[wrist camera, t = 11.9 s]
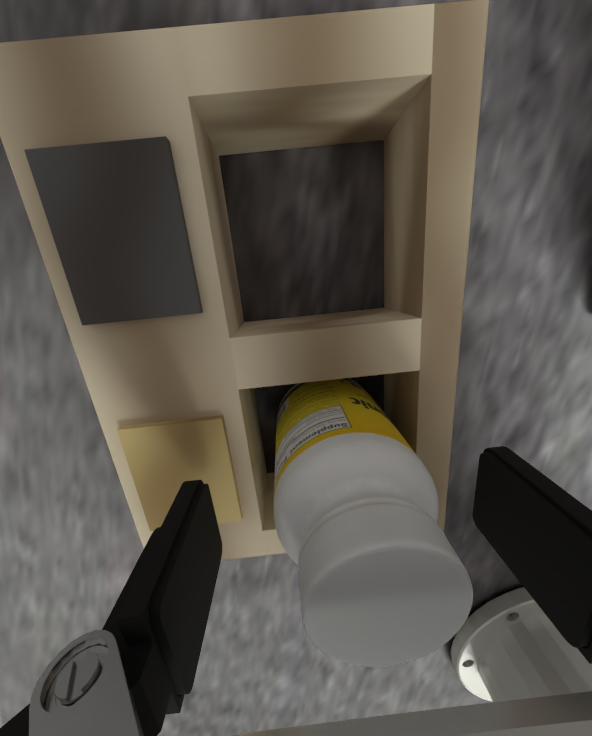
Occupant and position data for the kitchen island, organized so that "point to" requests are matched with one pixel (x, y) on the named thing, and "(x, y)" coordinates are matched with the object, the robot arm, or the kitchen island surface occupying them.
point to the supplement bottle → (363, 530)
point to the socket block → (213, 237)
